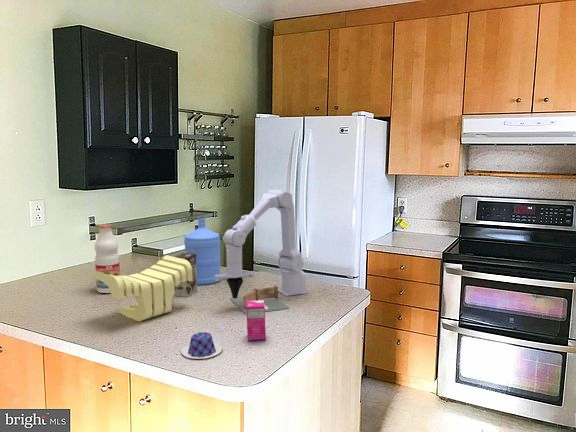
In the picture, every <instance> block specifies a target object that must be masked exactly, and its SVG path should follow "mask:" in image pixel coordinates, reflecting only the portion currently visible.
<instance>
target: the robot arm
mask: <svg viewBox="0 0 576 432" xmlns="http://www.w3.org/2000/svg"><path fill="white" fill-rule="evenodd" d="M261 196H262V197H261V199H260V200H259V201H258V203H257V204H256V206H254V208H253V209H252V210H251V212H250V213H249V214H244V215H241V217H240V220H238V221H237V223H235V224H234V225H233V226H232V228H229V229H227V230H226V231H225V233H223V234H224V235H223V237H222V240H223V243H224V244H225V248H226V253H225V254H226V256H225V257H226V272H223V273H220V274H218V275H215V281H218V282H219V281H226V283H227V285H228V287H229V289H230V292H231V297H232V298H239V297H238V296H239V291H240V289H241V287H242V285H243V283H244V280H243V279H244V278H254V277H255V272H254V271H253V270H251V271H247V270H245V271H243V245H244V244H245V242H246V239H247V237H248V235H249V234H250V233H251V231H253V229H254V228H255V227H256V226H257V224H256V223H257V220H258V219H259V218H260V217H262V216H263V215H264V214H265V213H266V212H267V211H268V210H269V209H274V208H276V209H277V211H279V212H280V220H281V221H280V223H281V224H280V225H281V227H280V228H281V240H282V244H281V245H282V249H281V250H280V251H279V252H278V259H277V265H278V267H279V269H280V272H281V289H279V288H278V292H279V293H281V294H282V295H283V296H286V297H287V296H294V295H295V296H296V295H302V294H307V291H306V287H307V286H306V279H307V278H306V273H305V272H304V271H303V267H304V259H303V258H302V253H301V252H300V251H299V250H298V249H297V240H296V239H297V237H296V219H295V218H296V216H295V204H294V202H293V194H292V193H291V192H290V191H288V190H279V189H274V188H271V189H270V188H269V189H267V190H265V191H264V193H263V194H262V195H261Z"/></svg>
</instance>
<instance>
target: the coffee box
mask: <svg viewBox="0 0 576 432" xmlns="http://www.w3.org/2000/svg"><path fill="white" fill-rule="evenodd" d="M175 257H176V258H180V259H184V260H187V261H188V262H189V263H190V264H191V267H192V278H193V281H187V280H186V281H185V282H180V284H179V285H177V287H175V286H174V293H173V296H175V297H183V298H189V297H191V296H192V295H193V294H195V293H196V292H197V291H198V285H197V275H196V254H195V253H187V252H186V253H185V252H182V253H180V254H178V255H176V256H175Z"/></svg>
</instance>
